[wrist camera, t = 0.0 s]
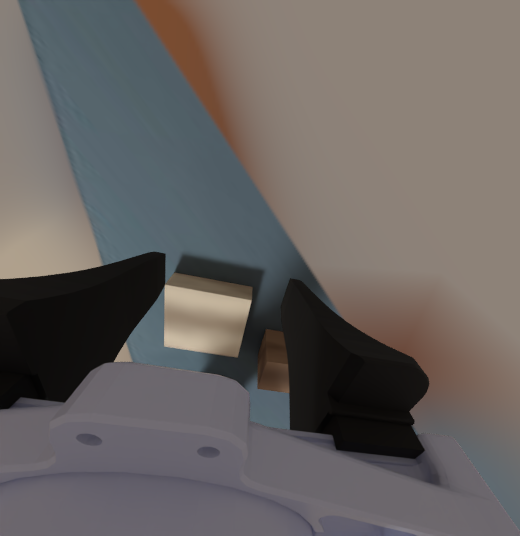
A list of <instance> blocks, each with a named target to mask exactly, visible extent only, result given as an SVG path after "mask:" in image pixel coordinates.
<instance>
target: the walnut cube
mask: <svg viewBox="0 0 520 536" xmlns="http://www.w3.org/2000/svg"><path fill="white" fill-rule="evenodd" d="M257 389H263V390H271V391H278V392H285V393H289V373H288V359H287V351H286V345H285V340H284V334H283V332H281V331H275V330H269V329H266V330H265V333H264V337H263V340H262V343H261V346H260V350H259V353H258V388H257Z"/></svg>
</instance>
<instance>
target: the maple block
mask: <svg viewBox="0 0 520 536" xmlns="http://www.w3.org/2000/svg"><path fill="white" fill-rule="evenodd" d="M252 289H253V287H250V286H244V285H239V284H233V283H228V282H223V281H217V280H212V279H207V278H201V277H196V276H191V275H185V274H180V273H175V272H174V274H173V275H172V276H171V277H170V279H169V280H168V281H167V283H166V284H165V324H164V346H165V347H172V348H178V349H185V350H191V351H198V352H204V353H211V354H217V355H224V356H230V357H237V358H238V354H239V350H240V346H241V342H242V338H243V334H244V330H245V326H246V321H247V317H248V313H249V309H250V305H251V301H252Z"/></svg>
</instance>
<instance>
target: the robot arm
mask: <svg viewBox="0 0 520 536" xmlns="http://www.w3.org/2000/svg"><path fill="white" fill-rule="evenodd" d="M164 286H165V254H164V253H159V252H150V253H146V254H142V255H139V256H136V257H132V258H129V259H126V260H122V261H119V262H115V263H111V264H108V265H104V266H100V267H96V268H91V269H87V270H81V271H76V272H70V273H63V274H55V275H48V276H40V277H28V278H15V279H0V536H520V531H519V530H518V528H517V527H516V525H515V524H514V523H513V521H512V520H511V518H510V517H509V515H508V514H507V512H506V511H505V510H504V508H503V507H502V505H501V504H500V503H499V501H498V500H497V498H496V497H495V495H494V494H493V493H492V491H491V490H490V488H489V487H488V486H487V484H486V483H485V481H484V480H483V478H482V477H481V475H480V474H479V473H478V471H477V470H476V468H475V467H474V466H473V464H472V463H471V462H470V460H469V458H468V457H467V456H466V454H465V453H464V452H463V450H462V448H461V447H460V446H459V444H458V443H457V441H456V440H455V439H454V438H453V437H451V436H445V435H437V434H430V433H422V434H418V435H416V434H415V432H414V430H413V429H412V427H411V425H413V424H414V419H413V418H412V416H411V414H410V412H409V411H410V410H411V409H412V408H413V407H414V405H416V404H417V402H418V401H420V399H422V397H423V396H424V395H425V393H426V392H427V389H428V386H429V379H428V377H427V375H426V374H425V373H424V371H423V370H422V369H421V368H420V366H419V365H418V363H417V362H416V361H415V360H414V359H413V358H412V357H410V356H408V355H406V354H404V353H401V352H399V351H397V350H395V349H393V348H390V347H388V346H386V345H385V344H383V343H380V342H379V341H377V340H375V339H373V338H372V337H370V336H368V335H366V334H365V333H363V332H361V331H360V330H358V329H357V328H355V327H353V326H352V325H351V324H349V323H348V322H346V321H345V320H344V319H342V318H341V317H340V316H338V315H337V314H336V313H334V312H333V311H332V310H331V309H330V308H329V307H327V306H326V305H325V304H324V303H323V302H322V301H321V300H320V299H319V298H318V297H317V296H316V295H315V294H314V293H313V292H312V291H311V290H310V289H309V288H308V287H307V286H306V285H305V284H304V283H303V282H302V281H300V280H297V279H291V278H290V280H289V283H288V286H287V289H286V292H285V295H284V298H283V301H282V304H281V322H282V328H283V334H284V340H285V345H286V351H287V359H288V373H289V395H290V430H287V429H278V428H270V427H266V426H263V425H260V424H258V423H255V422H252V421H250V397H249V392H248V391H247V390H246V389H245V388H243V387H242V386H241V385H240V384H239V383H238V382H237V381H236V380H233V379H230V378H227V377H224V376H221V375H217V374H210V373H203V372H196V371H189V370H182V369H175V368H169V367H162V366H155V365H148V364H141V363H134V362H114V360H115V358H116V357H117V355H118V353H119V351H120V350H121V348H122V347H123V345H124V343H125V342H126V340H127V338H128V337H129V335H130V334H131V333H132V331H133V330H134V328H135V327H136V326H137V324H138V323H139V322H140V321H141V319H142V318H143V317H144V315H145V314H146V313H147V312H148V310H149V309H150V308H151V306H152V305H153V304H154V302H155V301H156V300H157V298H158V297H159V295H160V293H161V291H162V289H163V288H164Z"/></svg>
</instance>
